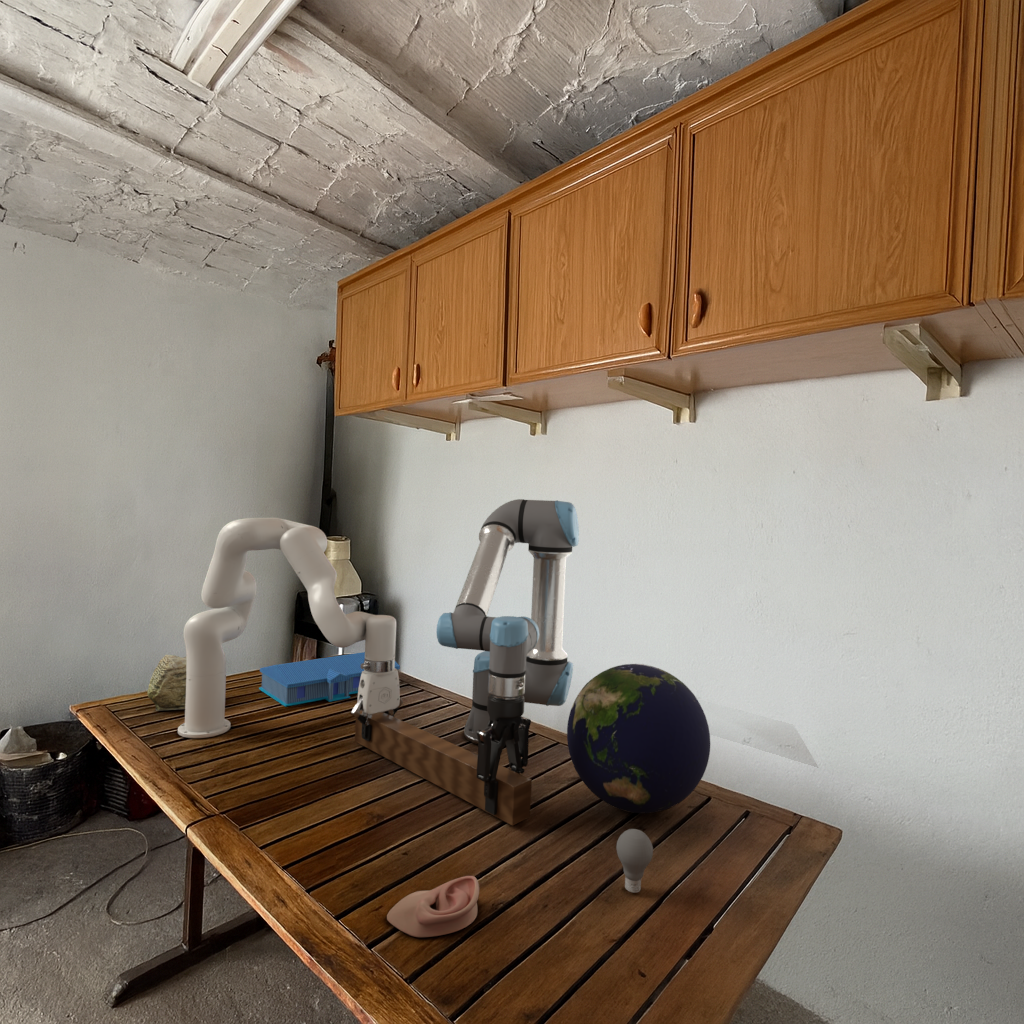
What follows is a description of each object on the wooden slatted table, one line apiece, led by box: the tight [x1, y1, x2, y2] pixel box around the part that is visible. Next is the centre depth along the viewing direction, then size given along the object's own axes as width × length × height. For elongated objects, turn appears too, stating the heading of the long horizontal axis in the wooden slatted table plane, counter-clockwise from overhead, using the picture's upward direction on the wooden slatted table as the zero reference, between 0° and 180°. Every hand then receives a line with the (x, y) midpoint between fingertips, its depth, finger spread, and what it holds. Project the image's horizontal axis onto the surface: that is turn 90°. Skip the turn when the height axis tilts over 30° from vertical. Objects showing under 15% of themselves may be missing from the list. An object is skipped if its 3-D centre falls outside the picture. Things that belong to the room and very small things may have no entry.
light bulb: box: [615, 828, 654, 894], centre depth 106 cm, size 6×6×10 cm
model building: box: [258, 651, 401, 707], centre depth 208 cm, size 39×24×10 cm, turn 132°
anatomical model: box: [386, 875, 480, 938], centre depth 98 cm, size 13×4×12 cm
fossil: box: [147, 654, 187, 712], centre depth 185 cm, size 9×18×15 cm, turn 132°
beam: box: [354, 710, 532, 826], centre depth 144 cm, size 56×5×8 cm, turn 46°
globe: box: [566, 663, 711, 814], centre depth 135 cm, size 30×30×30 cm
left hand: (376, 735), depth 160 cm, fingers closed on beam, 5 cm apart
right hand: (501, 807), depth 129 cm, fingers closed on beam, 5 cm apart
